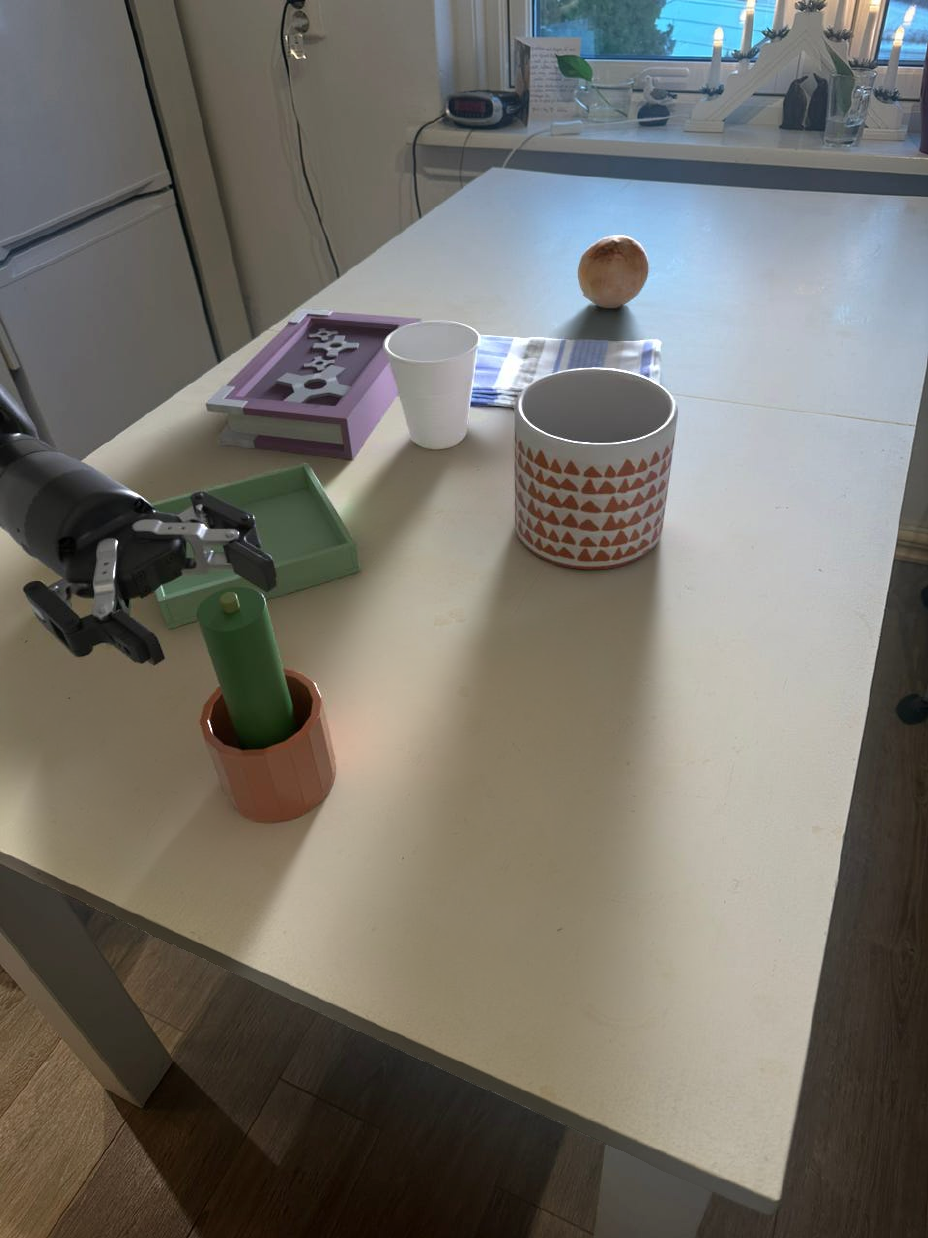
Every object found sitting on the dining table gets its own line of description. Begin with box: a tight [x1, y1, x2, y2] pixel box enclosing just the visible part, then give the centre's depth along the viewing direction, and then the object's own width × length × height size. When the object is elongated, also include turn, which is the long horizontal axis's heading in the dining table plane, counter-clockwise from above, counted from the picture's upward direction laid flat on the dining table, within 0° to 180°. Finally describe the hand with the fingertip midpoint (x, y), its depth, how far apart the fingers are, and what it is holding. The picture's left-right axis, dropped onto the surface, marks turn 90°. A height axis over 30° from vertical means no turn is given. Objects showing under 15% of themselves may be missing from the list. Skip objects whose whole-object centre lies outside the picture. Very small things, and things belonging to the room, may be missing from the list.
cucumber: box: [197, 587, 299, 750], centre depth 56 cm, size 4×4×16 cm
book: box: [204, 307, 423, 460], centre depth 102 cm, size 25×16×5 cm, turn 164°
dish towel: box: [470, 334, 663, 409], centre depth 103 cm, size 17×24×3 cm
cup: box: [383, 320, 481, 450], centre depth 92 cm, size 10×10×11 cm
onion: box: [577, 234, 650, 309], centre depth 117 cm, size 10×9×10 cm
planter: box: [513, 368, 679, 571], centre depth 78 cm, size 14×14×13 cm
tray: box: [149, 462, 361, 630], centre depth 80 cm, size 17×15×3 cm
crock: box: [199, 667, 337, 824], centre depth 59 cm, size 8×8×7 cm
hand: (216, 613), depth 53 cm, fingers open, 8 cm apart
